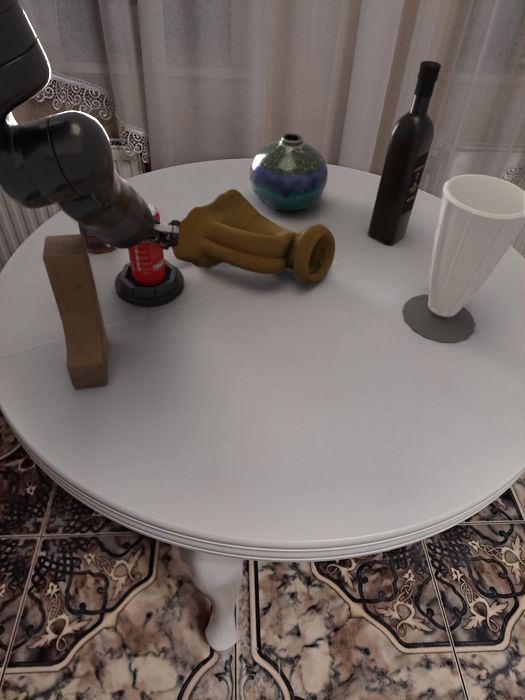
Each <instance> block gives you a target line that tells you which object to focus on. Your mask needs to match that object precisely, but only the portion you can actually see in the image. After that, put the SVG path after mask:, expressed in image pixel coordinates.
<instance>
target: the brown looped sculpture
mask: <svg viewBox="0 0 525 700" xmlns="http://www.w3.org/2000/svg"><path fill="white" fill-rule="evenodd" d="M171 250H172V253H173V256H174V257H175V259H176V260H179V261H182V262H184V263H191V264H192V265H194V266H195V267H198V268H202V269H210V268H213V267H215V266H218V265H220V264H223V263H224V264H228V265H230V266H233V267H236V268H238V269H241V270H245V271H247V272H251V273H254V274H255V273H256V274H261V275H277V274H280V273H282V272H283V271H285V270H287V269H292V270H293V274H294V277H295V279H296V280H297V281H298V282H300V283H302V284H305V285H314V284H316V283H319V282H321V281H322V280H323V279H324V278H325V276H327V273H328V272H329V270H330V269H331V267H332V264H333V261H334V258H335V255H336V254H335V252H336V239H335V236H334V234H333V233H332V231H331V230H330V229H329V228H328V227H327V226H325V225H323V224H321V223H316V224H313V225H311V226H309V227H307V228H306V229H305V230H304V231H303V233H302V232H299V231H295V230H291V229H287V228H286V227H283V226H281V225H279V224H277V223H275V222H274V221H272V220H271V219H269V218H267V217H266V216H265V215H263V214H261V213H260V212H259V211H258V210H257V209H256V208H255V207H254V206H253V205H252V203H251V202H250V201H249V200H248V199H246V198H245V196H244V195H243V194H242V193H241V192H240V191H238V190H237V189H235V188H230V189H228V190H227V191H224V192H223V193H220V194H218V196H217V197H216V198H215V199H214V200H213V201H212V202H210V203H208V204H205V205H201V206H194V207H193V208H192V209H191V210H190V211H189V212H188V213H187V215H186V217H184V218H183V219H182V220H180V230H179V240H178V246H175V247H171Z"/></svg>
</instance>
